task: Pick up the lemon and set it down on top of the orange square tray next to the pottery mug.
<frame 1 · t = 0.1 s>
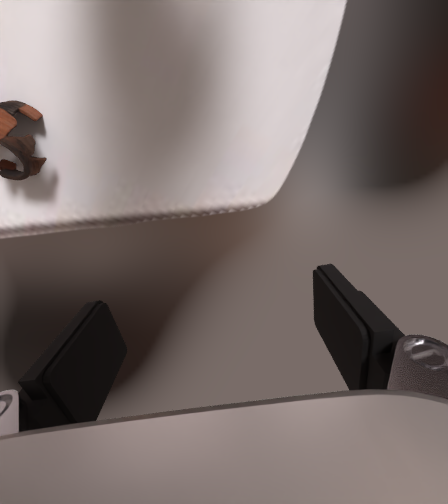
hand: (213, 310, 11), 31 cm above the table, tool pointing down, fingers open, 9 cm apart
pottery mug: (19, 134, 36), on the table
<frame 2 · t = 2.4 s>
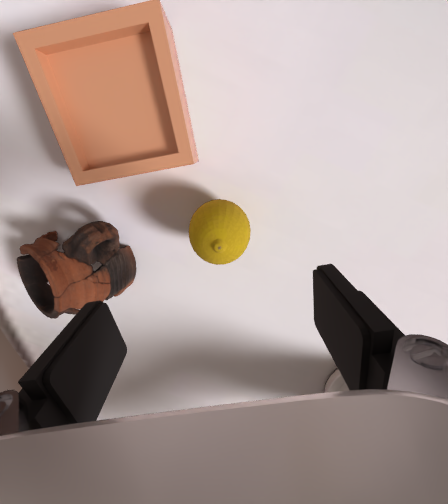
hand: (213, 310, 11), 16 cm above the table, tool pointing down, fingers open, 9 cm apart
pottery mug: (98, 252, 27), on the table
lemon: (220, 218, 25), on the table
orange square tray: (132, 112, 21), on the table
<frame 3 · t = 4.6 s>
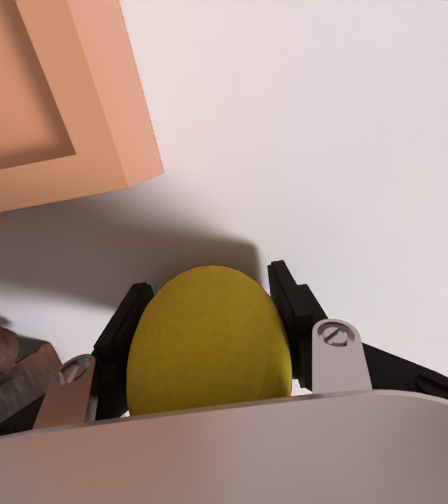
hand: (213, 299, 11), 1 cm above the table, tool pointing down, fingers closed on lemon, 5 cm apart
lemon: (214, 285, 13), on the table, touching gripper
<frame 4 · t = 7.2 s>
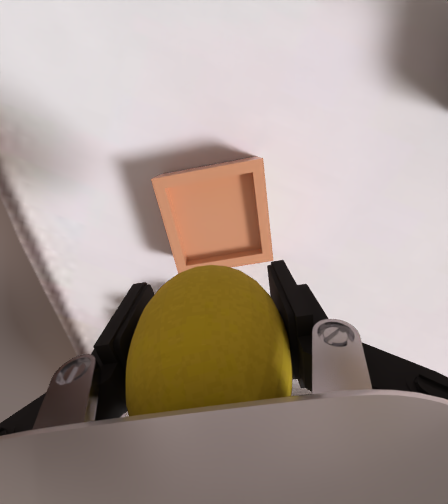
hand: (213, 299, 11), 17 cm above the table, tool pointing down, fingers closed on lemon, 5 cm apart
lemon: (214, 284, 12), point 15 cm above the table, touching gripper
orange square tray: (217, 211, 26), on the table
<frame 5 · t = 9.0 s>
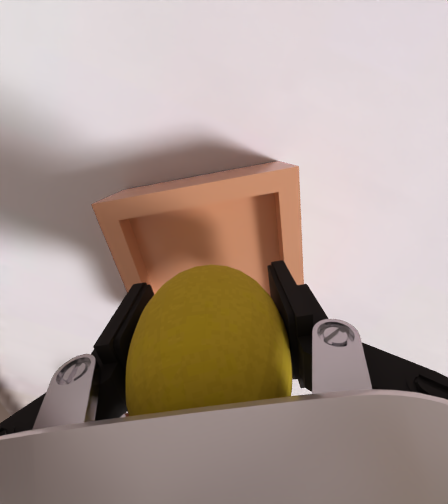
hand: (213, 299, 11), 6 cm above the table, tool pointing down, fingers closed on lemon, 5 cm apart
lemon: (214, 284, 12), point 5 cm above the table, touching gripper
orange square tray: (214, 247, 17), on the table
when the fingers open (6 cm above the table, at t = 9.8 s): lemon drops 2 cm, resting on orange square tray.
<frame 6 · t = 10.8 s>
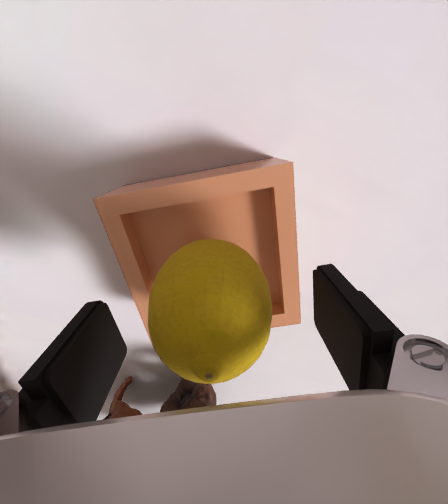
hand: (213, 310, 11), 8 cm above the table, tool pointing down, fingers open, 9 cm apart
pottery mug: (174, 386, 24), on the table
lemon: (212, 260, 15), point 3 cm above the table, touching orange square tray
orange square tray: (212, 241, 17), on the table
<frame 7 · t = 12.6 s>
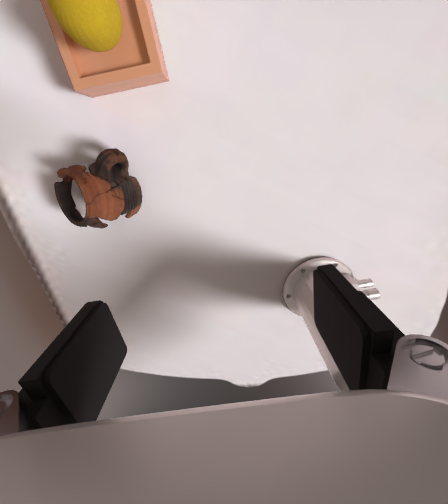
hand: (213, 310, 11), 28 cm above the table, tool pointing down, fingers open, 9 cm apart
pottery mug: (112, 184, 35), on the table
lemon: (107, 30, 25), point 3 cm above the table, touching orange square tray
orange square tray: (115, 38, 28), on the table
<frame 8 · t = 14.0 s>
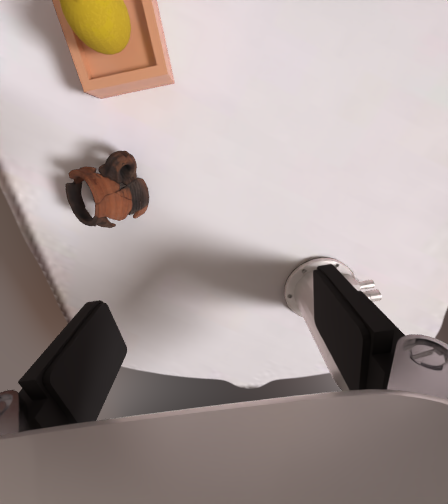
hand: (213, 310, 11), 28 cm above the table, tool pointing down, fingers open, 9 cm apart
pottery mug: (120, 186, 36), on the table
lemon: (116, 34, 26), point 3 cm above the table, touching orange square tray
orange square tray: (124, 43, 29), on the table
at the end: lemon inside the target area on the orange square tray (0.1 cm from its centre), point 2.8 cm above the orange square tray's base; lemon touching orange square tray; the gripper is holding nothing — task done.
